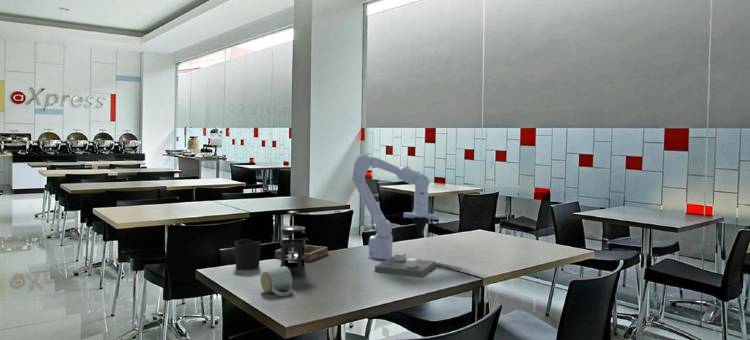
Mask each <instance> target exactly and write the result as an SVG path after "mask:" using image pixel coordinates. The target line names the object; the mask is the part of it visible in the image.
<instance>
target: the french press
mask: <svg viewBox="0 0 750 340" xmlns="http://www.w3.org/2000/svg"><path fill="white" fill-rule="evenodd" d="M287 213H288V214H291V218H292V225H287V226H281V227H280V230H281V235H282V236H288V237H289V236H292V238H288V239H287V238H284V239H281V241H280V249H281V258H280V265H279V267H283V266H286V267H287V268H288V269H289V270H290V272H291V275H292V278H298V277H299V278H300V277H304V276H305V275H307V274H306V273H307V272H306V263H305V261H304V257H305V256H304V253H305V252H304V246H305V245H306V240H305V239H301V238H294V234H295V233H301V234H305V230H306V227H305V226H300V225H294V223H295V222H294V220H295V219H294V217H295V214H297V213H298V214H299V213H300V212H299V211H298V210H288V211H287ZM289 247H292V254H289ZM293 247H297V251H296V252H297V254H294V253H293ZM289 261H290V262H289Z"/></svg>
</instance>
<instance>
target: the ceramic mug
mask: <svg viewBox="0 0 750 340" xmlns="http://www.w3.org/2000/svg"><path fill="white" fill-rule="evenodd" d="M260 285H261V288H262V290H263V291H264V292H265V293H267V294H272V293H273V294H275V295H276V296H278V297H287V296H289V295H290V294H291V292H292V286H293V277H292V275H291V272H290V270H289V269H288V268H287V267H286V266H283V267H280V266H279V267H276V268H275V267H274V268H271V269H268V270H265V271H263V272H262V274H261V275H260Z"/></svg>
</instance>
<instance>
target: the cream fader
mask: <svg viewBox="0 0 750 340" xmlns="http://www.w3.org/2000/svg"><path fill="white" fill-rule="evenodd" d="M417 260H418V258H415V257H409V258H407V260H406V267H411V268H414V267H415V266H417Z"/></svg>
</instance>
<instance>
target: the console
mask: <svg viewBox="0 0 750 340" xmlns="http://www.w3.org/2000/svg"><path fill="white" fill-rule="evenodd" d="M407 259H408V258H407V257H406V259H405V260H403V261H394V260H395V257H391V258H389V259H387V260H385V259H384V261H382V262H380V263H378V264H376V265H375V266H374V272H375V273H384V274H385V273H386V274H394V275H404V276H412V277H413V276H414V277H419V278H420V277H422V276H424V275H425V274H427V273H429V271H431V270H432V269H434V267H436V261H435V260H427V259H417V266H415V267H414V268H411V267H406V260H407Z"/></svg>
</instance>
